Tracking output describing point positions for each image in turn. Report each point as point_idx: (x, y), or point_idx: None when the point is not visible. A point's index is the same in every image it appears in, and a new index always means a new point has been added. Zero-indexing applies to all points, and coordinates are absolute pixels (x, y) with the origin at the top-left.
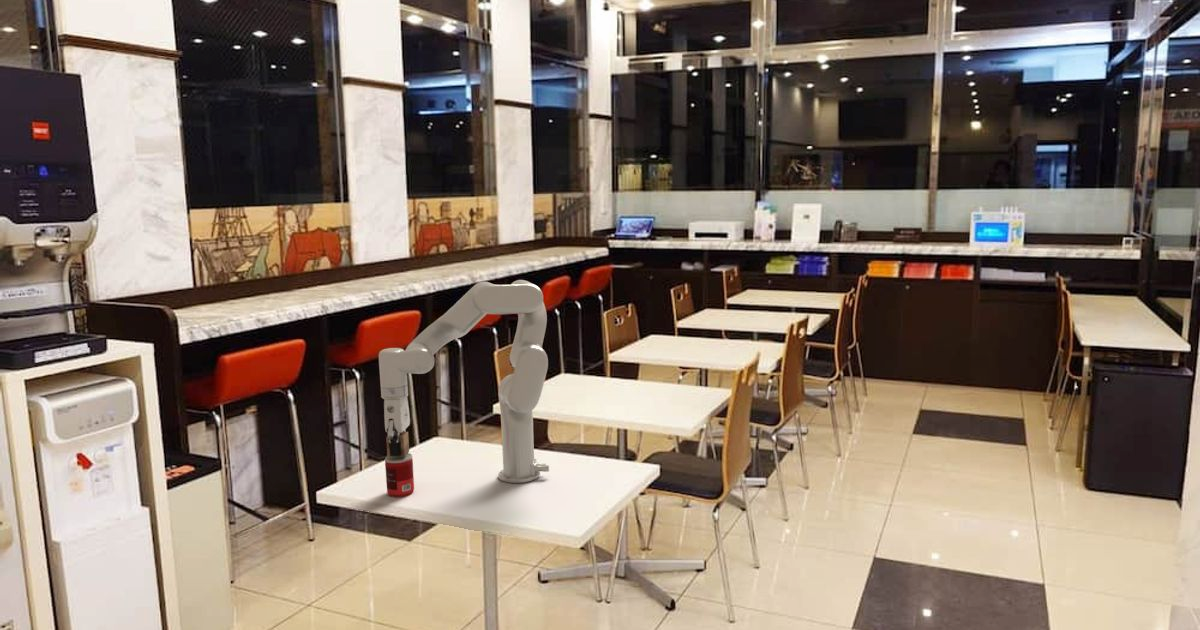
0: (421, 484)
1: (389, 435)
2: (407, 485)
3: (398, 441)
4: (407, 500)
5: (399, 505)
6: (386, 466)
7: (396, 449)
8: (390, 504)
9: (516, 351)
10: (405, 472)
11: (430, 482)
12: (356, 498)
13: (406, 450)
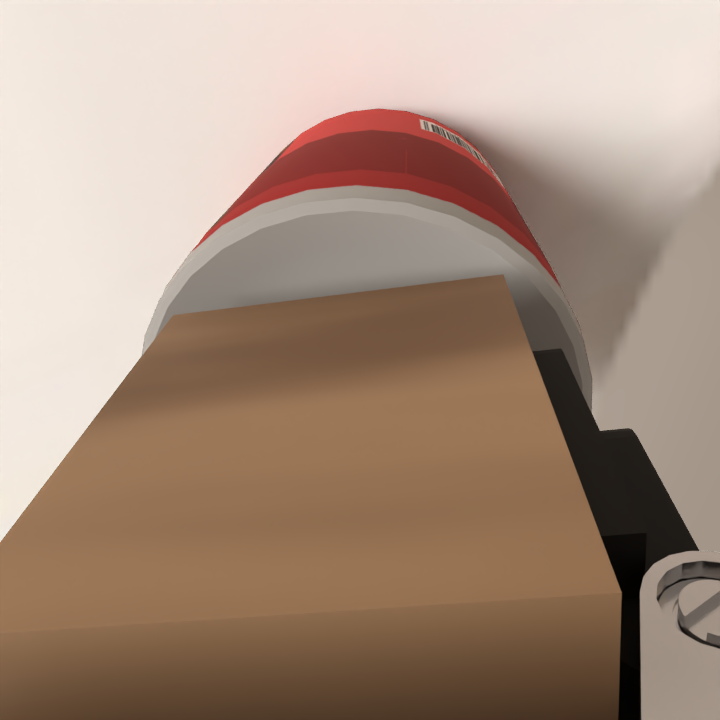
0: (136, 122)
1: None
2: (461, 146)
3: (712, 595)
4: (577, 80)
5: (713, 106)
6: None
7: (656, 486)
8: (679, 206)
9: None
10: (492, 193)
11: (58, 48)
12: None
13: (348, 327)
